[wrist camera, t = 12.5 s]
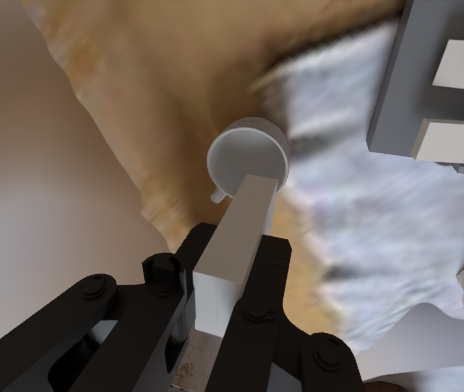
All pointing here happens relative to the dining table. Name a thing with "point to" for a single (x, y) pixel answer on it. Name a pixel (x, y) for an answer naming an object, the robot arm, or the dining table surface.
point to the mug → (383, 387)
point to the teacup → (247, 155)
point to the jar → (461, 283)
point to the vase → (196, 362)
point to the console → (417, 77)
